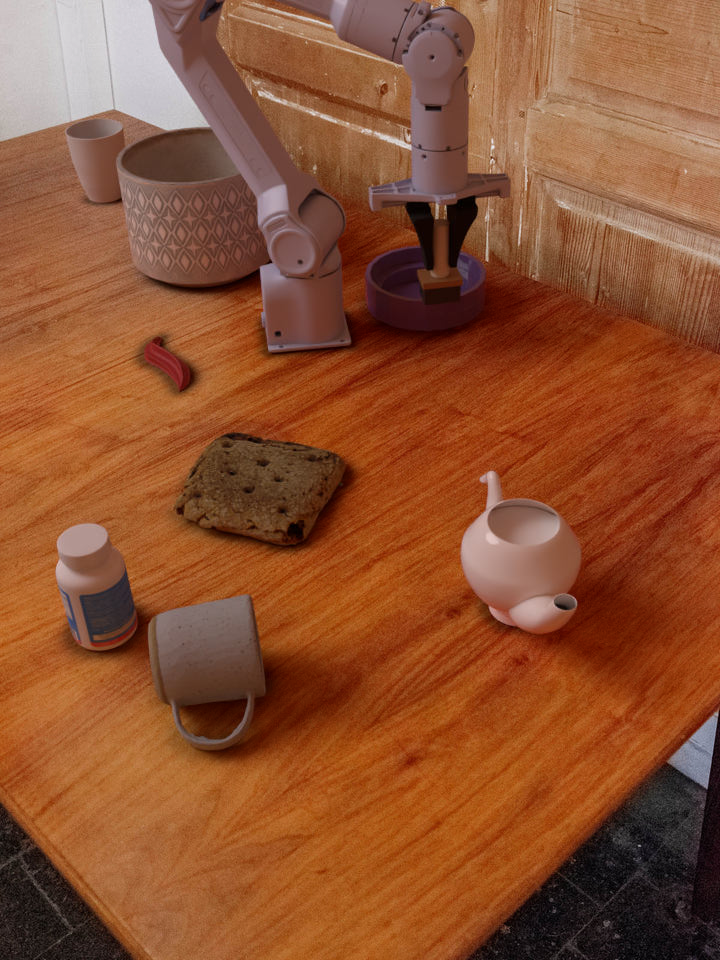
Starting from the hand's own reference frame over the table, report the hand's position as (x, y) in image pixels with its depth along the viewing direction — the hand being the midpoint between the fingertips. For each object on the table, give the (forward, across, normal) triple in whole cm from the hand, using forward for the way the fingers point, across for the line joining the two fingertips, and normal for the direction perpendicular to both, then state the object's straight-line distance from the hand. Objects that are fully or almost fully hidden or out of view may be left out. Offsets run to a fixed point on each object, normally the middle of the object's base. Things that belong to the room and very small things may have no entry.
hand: (439, 265), depth 118 cm
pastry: (+10, -22, -22) cm, 33 cm away
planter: (+10, -25, +28) cm, 39 cm away
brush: (+4, 0, 0) cm, 4 cm away
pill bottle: (+10, -36, -38) cm, 54 cm away
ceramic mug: (+10, -27, -48) cm, 56 cm away
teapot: (+11, -2, -42) cm, 43 cm away
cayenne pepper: (+10, -31, +3) cm, 33 cm away
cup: (+10, -39, +52) cm, 66 cm away
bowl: (+10, 0, +10) cm, 15 cm away
